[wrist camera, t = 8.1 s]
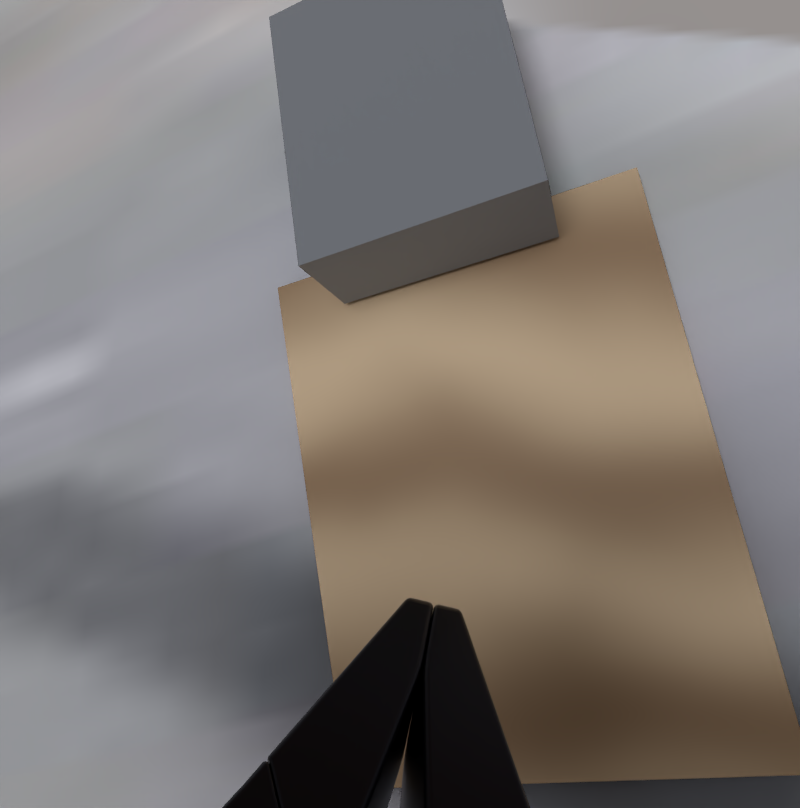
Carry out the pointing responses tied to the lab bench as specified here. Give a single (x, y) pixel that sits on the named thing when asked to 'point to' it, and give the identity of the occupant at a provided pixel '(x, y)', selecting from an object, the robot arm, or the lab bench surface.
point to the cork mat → (545, 499)
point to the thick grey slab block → (405, 140)
